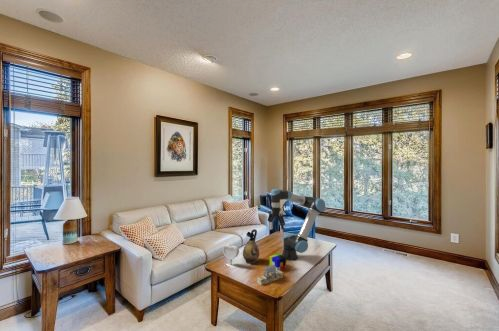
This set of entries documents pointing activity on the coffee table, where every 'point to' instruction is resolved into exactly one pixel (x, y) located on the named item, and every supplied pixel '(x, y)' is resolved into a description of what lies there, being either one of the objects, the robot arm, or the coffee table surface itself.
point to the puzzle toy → (278, 261)
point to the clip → (270, 269)
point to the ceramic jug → (251, 248)
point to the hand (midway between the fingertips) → (276, 231)
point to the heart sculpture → (230, 253)
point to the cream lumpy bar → (263, 280)
